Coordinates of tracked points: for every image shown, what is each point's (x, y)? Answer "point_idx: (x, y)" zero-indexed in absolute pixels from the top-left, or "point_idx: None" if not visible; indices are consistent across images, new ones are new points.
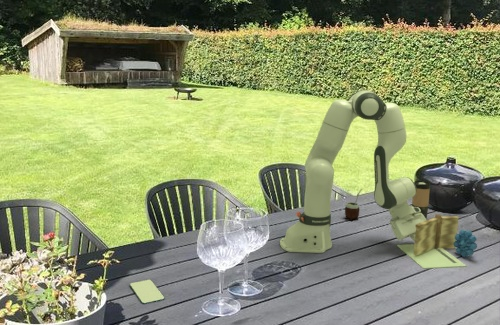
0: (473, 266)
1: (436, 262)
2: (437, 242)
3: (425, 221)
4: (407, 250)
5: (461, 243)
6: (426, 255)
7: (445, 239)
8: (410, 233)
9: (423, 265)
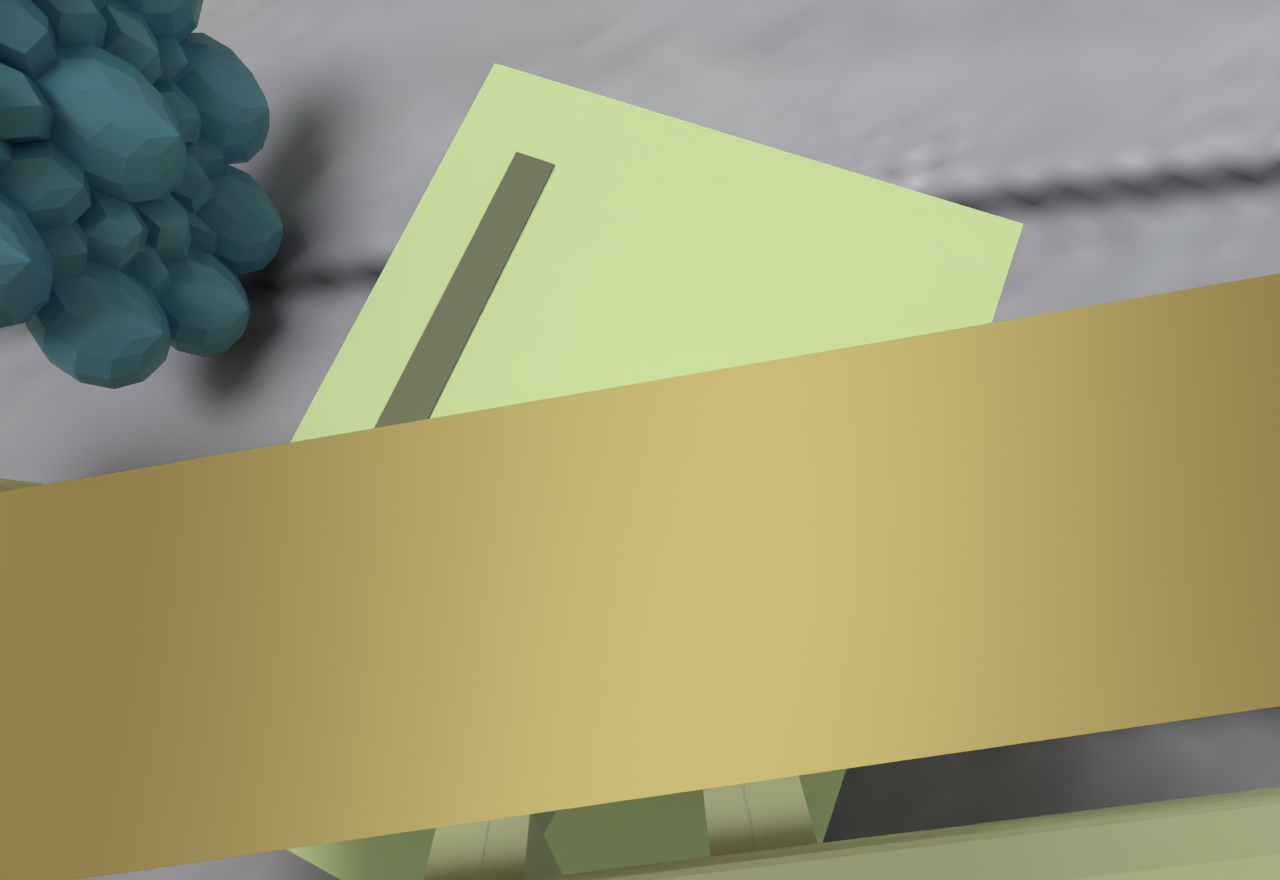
0: (427, 48)
1: (730, 263)
2: None
3: (265, 750)
4: None
5: (163, 117)
6: None
7: None
8: (1040, 840)
9: (967, 271)
